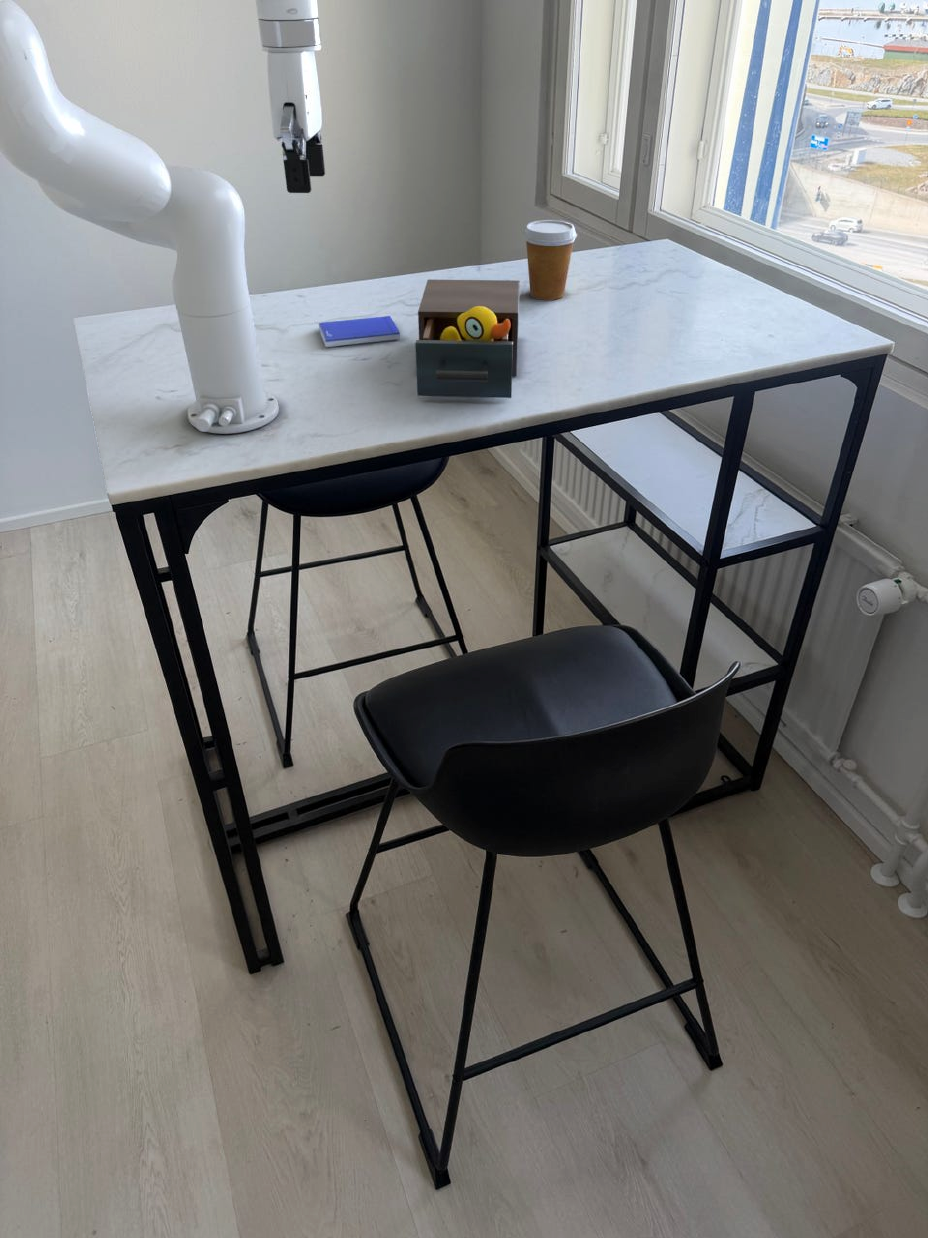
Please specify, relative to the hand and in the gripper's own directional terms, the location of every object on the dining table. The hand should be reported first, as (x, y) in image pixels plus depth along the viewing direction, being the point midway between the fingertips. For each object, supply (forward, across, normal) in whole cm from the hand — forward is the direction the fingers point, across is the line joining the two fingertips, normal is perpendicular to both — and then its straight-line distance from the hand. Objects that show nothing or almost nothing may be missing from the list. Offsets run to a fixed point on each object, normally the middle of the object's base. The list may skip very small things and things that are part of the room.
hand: (307, 183), depth 120 cm
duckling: (+24, +8, +24) cm, 35 cm away
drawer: (+25, +8, +22) cm, 35 cm away
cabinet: (+26, -4, +22) cm, 35 cm away
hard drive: (+26, -13, +3) cm, 30 cm away
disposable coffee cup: (+26, -35, +35) cm, 56 cm away
